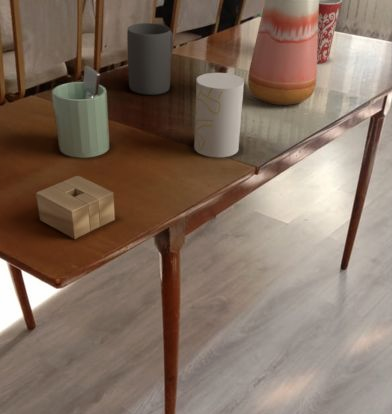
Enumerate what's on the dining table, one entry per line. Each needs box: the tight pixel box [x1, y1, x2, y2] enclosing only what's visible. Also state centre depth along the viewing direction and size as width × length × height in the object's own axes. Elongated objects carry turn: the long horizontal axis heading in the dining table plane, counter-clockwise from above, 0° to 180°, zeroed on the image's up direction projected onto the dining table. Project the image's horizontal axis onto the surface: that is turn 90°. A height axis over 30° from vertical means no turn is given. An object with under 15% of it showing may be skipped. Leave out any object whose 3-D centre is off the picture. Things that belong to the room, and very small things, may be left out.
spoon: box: [82, 65, 101, 99], centre depth 108 cm, size 1×3×14 cm, turn 50°
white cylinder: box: [193, 72, 245, 158], centre depth 111 cm, size 8×8×12 cm
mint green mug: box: [51, 81, 110, 159], centre depth 111 cm, size 12×9×10 cm
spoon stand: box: [35, 175, 116, 240], centre depth 92 cm, size 8×8×4 cm
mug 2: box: [317, 0, 343, 64], centre depth 154 cm, size 13×9×14 cm
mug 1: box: [126, 22, 174, 96], centre depth 135 cm, size 14×9×12 cm
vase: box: [247, 0, 319, 106], centre depth 126 cm, size 14×14×30 cm
